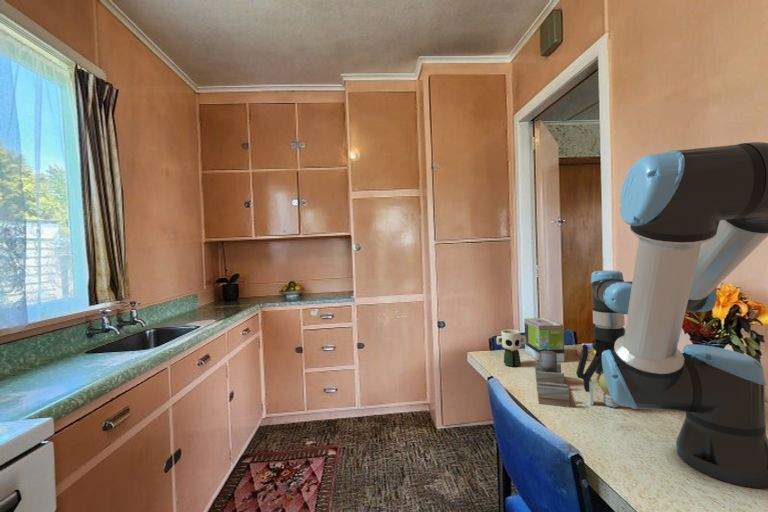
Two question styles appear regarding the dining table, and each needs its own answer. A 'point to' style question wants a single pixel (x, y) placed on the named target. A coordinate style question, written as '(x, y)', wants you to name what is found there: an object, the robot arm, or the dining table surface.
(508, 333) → the character mug
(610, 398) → the light bulb
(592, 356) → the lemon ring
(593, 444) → the dining table surface
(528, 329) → the tea box
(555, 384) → the grey stacked slabs
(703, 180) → the robot arm
